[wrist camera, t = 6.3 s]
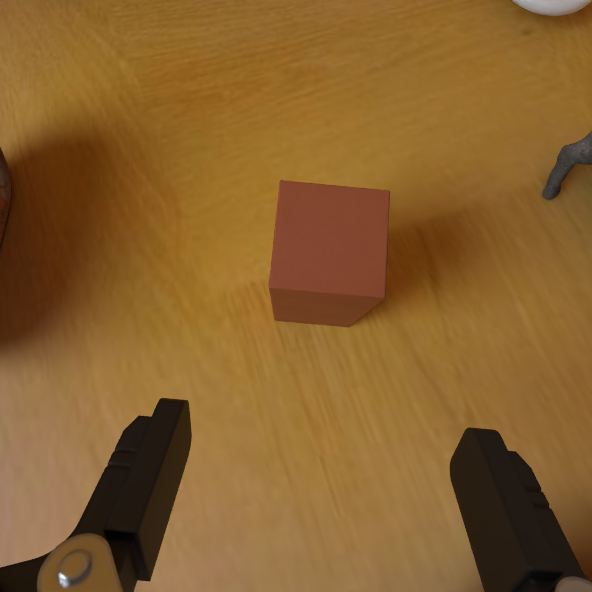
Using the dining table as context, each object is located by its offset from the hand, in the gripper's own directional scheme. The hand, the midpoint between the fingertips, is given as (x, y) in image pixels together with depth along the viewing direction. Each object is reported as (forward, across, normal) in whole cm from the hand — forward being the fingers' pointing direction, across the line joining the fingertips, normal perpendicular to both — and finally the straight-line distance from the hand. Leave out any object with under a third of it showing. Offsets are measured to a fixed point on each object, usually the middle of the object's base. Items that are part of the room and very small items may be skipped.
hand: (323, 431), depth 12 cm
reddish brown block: (+14, 0, +4) cm, 14 cm away
